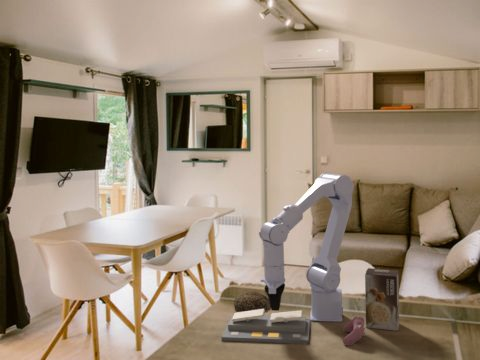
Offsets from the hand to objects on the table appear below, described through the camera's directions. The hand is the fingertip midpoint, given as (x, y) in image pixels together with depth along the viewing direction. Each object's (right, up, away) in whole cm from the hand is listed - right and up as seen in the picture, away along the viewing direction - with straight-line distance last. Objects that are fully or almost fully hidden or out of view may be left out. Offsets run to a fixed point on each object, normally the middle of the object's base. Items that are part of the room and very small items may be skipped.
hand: (275, 309), depth 151 cm
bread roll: (-6, -4, +21) cm, 22 cm away
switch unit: (-2, -6, 0) cm, 7 cm away
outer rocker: (-8, -2, +1) cm, 8 cm away
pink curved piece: (+21, -7, -7) cm, 23 cm away
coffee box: (+31, -5, +1) cm, 32 cm away
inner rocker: (+3, -2, 0) cm, 4 cm away
